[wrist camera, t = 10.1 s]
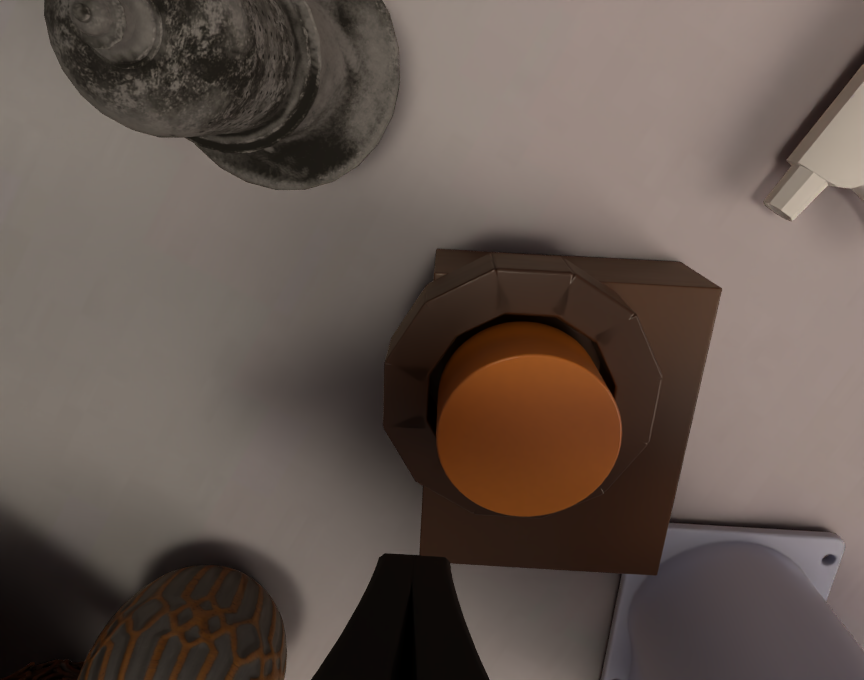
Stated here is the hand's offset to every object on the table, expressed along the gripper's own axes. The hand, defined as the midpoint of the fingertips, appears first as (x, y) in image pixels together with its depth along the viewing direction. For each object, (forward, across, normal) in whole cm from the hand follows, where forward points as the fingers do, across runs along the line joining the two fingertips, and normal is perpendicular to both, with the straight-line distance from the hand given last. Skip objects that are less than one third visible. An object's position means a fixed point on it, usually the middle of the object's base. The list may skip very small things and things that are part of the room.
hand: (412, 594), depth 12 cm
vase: (+10, +8, +10) cm, 17 cm away
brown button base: (+10, -4, 0) cm, 11 cm away
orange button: (+5, -2, -2) cm, 6 cm away
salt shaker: (+10, +4, -10) cm, 15 cm away
